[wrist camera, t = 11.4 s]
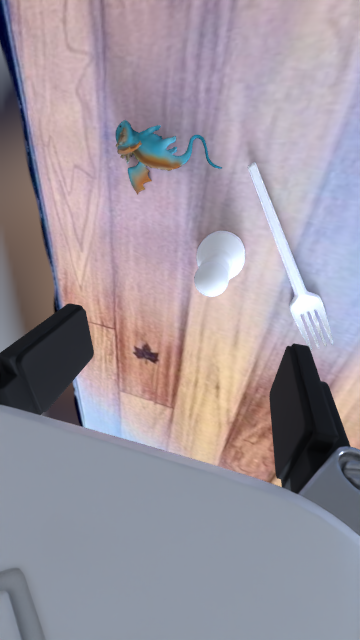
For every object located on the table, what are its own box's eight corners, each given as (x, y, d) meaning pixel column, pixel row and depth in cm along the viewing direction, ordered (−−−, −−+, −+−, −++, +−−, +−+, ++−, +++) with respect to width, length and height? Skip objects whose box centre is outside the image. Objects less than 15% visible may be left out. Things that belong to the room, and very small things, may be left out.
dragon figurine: (191, 50, 18) (94, 95, 18) (228, 140, 18) (130, 183, 18) (190, 122, 24) (119, 154, 25) (218, 188, 24) (146, 219, 25)
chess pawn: (244, 227, 24) (241, 250, 16) (245, 274, 26) (243, 313, 19) (196, 232, 25) (172, 256, 18) (201, 277, 28) (182, 314, 20)
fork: (269, 152, 20) (270, 150, 19) (333, 334, 27) (338, 343, 26) (234, 175, 22) (232, 174, 20) (303, 342, 29) (306, 351, 27)
